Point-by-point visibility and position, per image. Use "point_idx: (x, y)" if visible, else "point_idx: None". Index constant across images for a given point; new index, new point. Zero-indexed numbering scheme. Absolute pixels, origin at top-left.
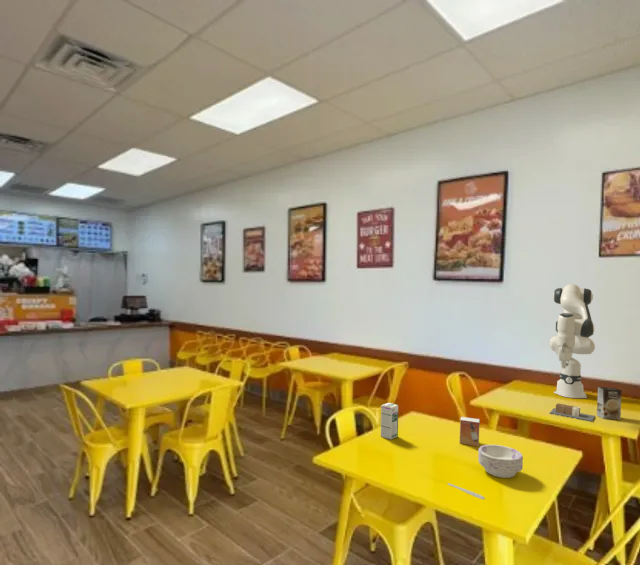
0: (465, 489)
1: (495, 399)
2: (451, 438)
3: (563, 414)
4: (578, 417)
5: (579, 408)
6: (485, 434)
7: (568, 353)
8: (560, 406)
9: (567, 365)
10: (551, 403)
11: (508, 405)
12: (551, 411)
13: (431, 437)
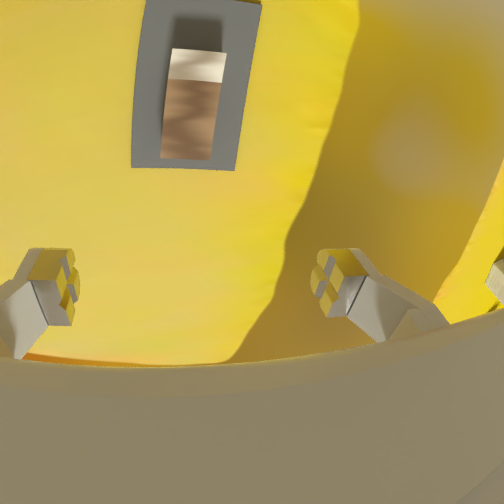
0: None
1: (162, 341)
2: (480, 292)
3: (227, 115)
4: (239, 54)
5: (197, 50)
6: (469, 267)
7: (433, 497)
8: (212, 138)
9: (70, 259)
10: (37, 195)
11: (212, 302)
12: (206, 166)
13: (476, 307)
